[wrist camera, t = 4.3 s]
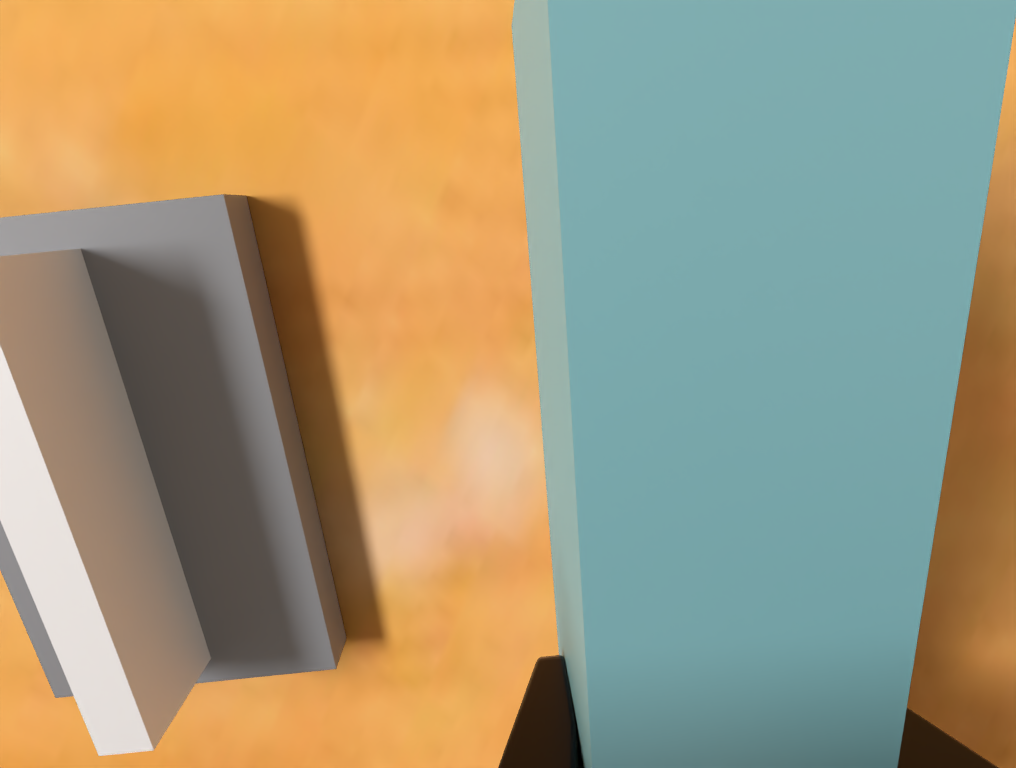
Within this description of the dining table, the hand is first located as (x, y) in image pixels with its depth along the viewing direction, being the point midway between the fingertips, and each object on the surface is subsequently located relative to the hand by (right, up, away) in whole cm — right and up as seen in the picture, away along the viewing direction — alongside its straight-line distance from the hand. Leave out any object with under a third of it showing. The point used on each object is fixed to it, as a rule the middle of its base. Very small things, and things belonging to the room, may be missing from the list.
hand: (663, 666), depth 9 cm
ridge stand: (-14, +2, +10) cm, 18 cm away
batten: (0, 0, +1) cm, 1 cm away
